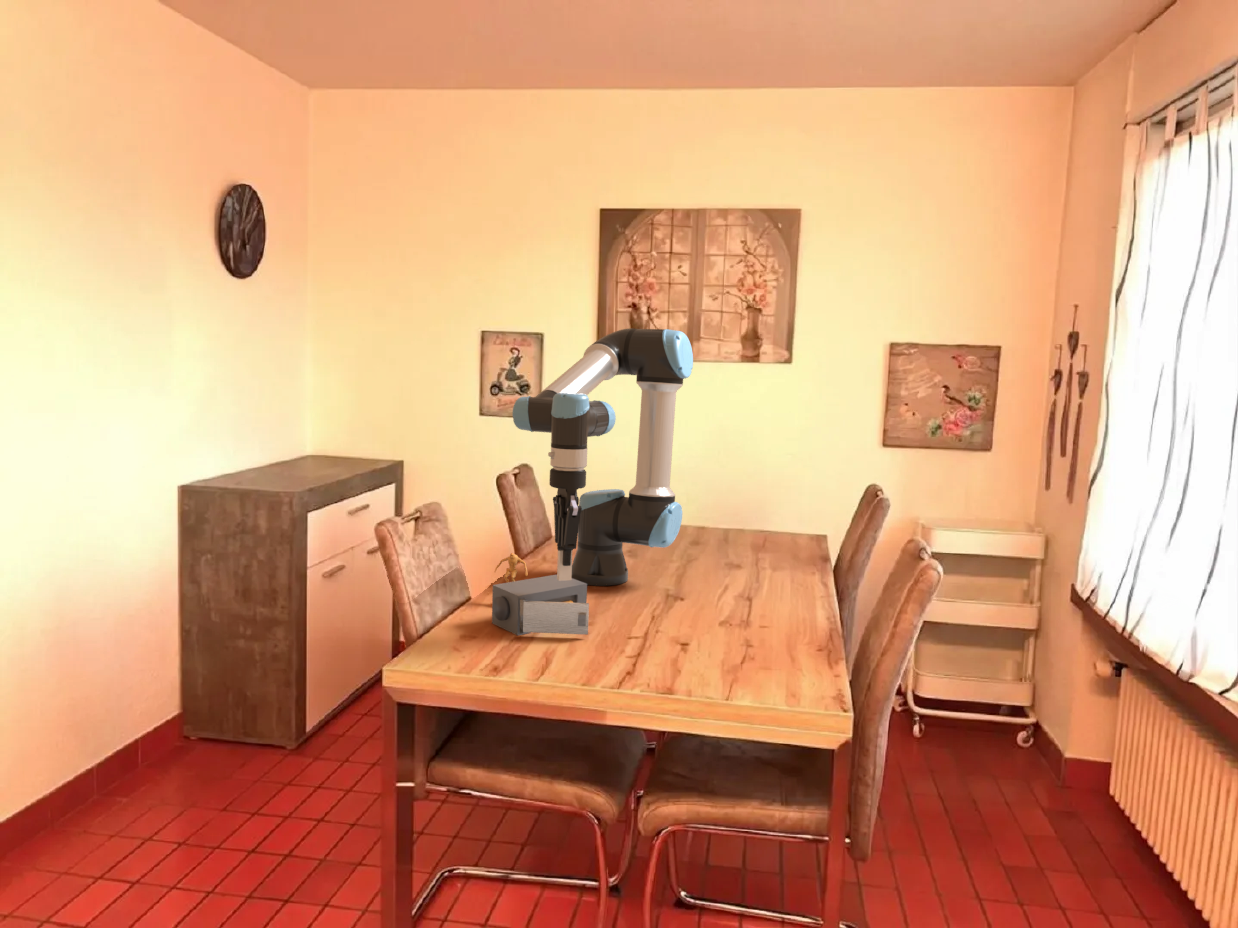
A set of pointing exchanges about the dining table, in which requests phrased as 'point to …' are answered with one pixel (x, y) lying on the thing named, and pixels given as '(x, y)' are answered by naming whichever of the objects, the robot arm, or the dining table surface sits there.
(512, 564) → the figurine
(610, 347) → the robot arm
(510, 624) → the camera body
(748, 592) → the dining table surface
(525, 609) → the door
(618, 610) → the dining table surface
